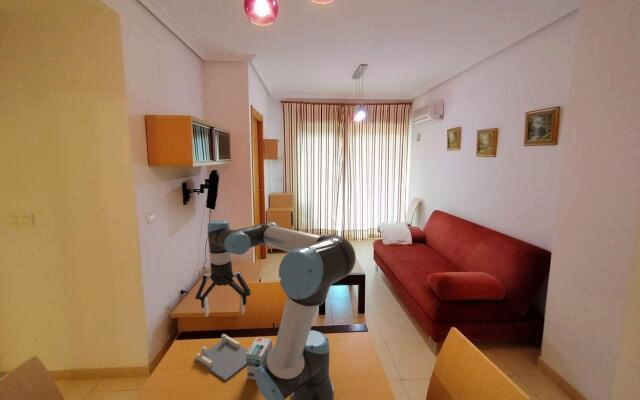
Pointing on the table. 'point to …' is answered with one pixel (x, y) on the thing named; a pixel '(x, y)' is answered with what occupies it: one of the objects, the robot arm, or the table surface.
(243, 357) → the grey base plate
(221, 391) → the table surface
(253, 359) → the light bulb box
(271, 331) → the table surface
